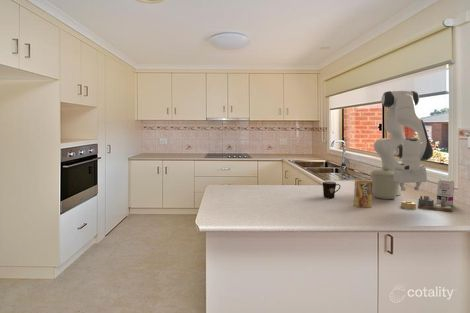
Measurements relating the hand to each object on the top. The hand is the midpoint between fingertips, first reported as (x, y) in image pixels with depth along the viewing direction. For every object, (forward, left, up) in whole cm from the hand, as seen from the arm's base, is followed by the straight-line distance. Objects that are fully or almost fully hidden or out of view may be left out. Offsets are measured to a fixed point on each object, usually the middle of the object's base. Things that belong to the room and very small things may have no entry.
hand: (409, 190), depth 174 cm
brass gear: (0, 0, -10) cm, 10 cm away
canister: (-14, +22, -11) cm, 28 cm away
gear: (+8, +7, -9) cm, 14 cm away
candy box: (-23, -12, -11) cm, 28 cm away
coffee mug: (-44, +2, -10) cm, 46 cm away
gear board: (+13, +7, -10) cm, 18 cm away
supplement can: (+19, +22, -11) cm, 30 cm away
